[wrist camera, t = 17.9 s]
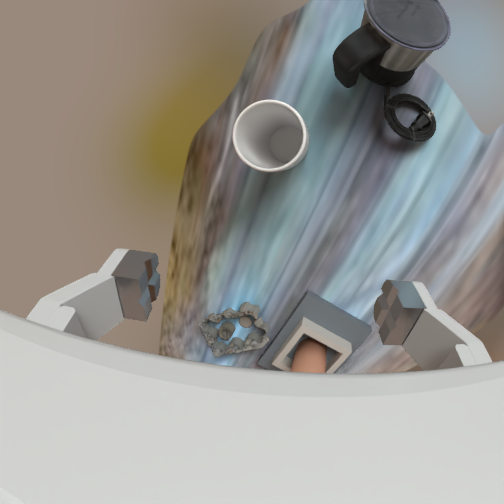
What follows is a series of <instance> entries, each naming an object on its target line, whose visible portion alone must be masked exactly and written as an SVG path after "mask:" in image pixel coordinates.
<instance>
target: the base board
mask: <svg viewBox="0 0 504 504" xmlns="http://www.w3.org/2000/svg"><path fill="white" fill-rule="evenodd" d="M371 332H372V329H371V326H370V325H368V324H366V323H364V322H363V321H361V320H359V319H357V318H356V317H354V316H352V315H350V314H349V313H347V312H345V311H344V310H342V309H340V308H338V307H337V306H335V305H333V304H331V303H330V302H328V301H326V300H324V299H323V298H321V297H319V296H318V295H316V294H314V293H312V292H311V291H309V290H307V292H306V293H305V295H304V296H303V298H302V299H301V301H300V302H299V304H298V305H297V307H296V308H295V309H294V311H293V312H292V314H291V315H290V317H289V318H288V319H287V321H286V322H285V324H284V325H283V327H282V328H281V329H280V331H279V332H278V334H277V335H276V336H275V338H274V339H273V341H272V342H271V343H270V345H269V346H268V347H267V349H266V350H265V351H264V353H263V354H262V356H261V357H260V358H259V360H258V363H257V364H258V365H260V366H262V367H264V368H266V369H268V370H274V371H288V372H290V371H291V368H292V364H293V360H294V356H295V352H296V348H297V345H298V343H299V342H300V341H302V340H303V339H306V338H314V339H316V340H317V341H319V342H321V343H323V344H325V345H326V347H327V358H326V368H325V373H336V372H337V371H338V369H339V368H340V367H341V366H342V365H343V364H344V363H345V362H346V361H347V360H348V359H349V357H350V356H351V355H352V354H353V353H354V352H355V351H356V349H357V348H358V347H359V346H360V345H361V344H362V343H363V341H364V340H365V339H366V338H367V337H368V335H369V334H370V333H371Z"/></svg>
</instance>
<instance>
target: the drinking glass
mask: <svg viewBox="0 0 504 504" xmlns="http://www.w3.org/2000/svg"><path fill="white" fill-rule="evenodd" d="M232 136H233V144H234V148H235V150H236V152H237V154H238V156H239V157H240V158H241V160H242V161H243V162H244V163H246V164H247V165H248V166H250V167H252V168H254V169H256V170H259V171H263V172H281V171H285V170H288V169H291V168H293V167H294V166H296V165H297V164H298V163H300V162H301V161H302V159H303V158H304V157H305V156H306V154H307V152H308V148H309V143H310V136H309V131H308V127H307V125H306V123H305V121H304V120H303V118H302V117H301V115H300V114H299V113H298V112H297V111H296V110H295V109H294V108H292V107H291V106H290V105H288V104H286V103H284V102H281V101H277V100H263V101H258V102H256V103H253V104H251V105H250V106H248V107H247V108H246V109H244V110H243V111H242V112H241V114H240V115H239V116H238V118H237V120H236V122H235V124H234V128H233V135H232Z"/></svg>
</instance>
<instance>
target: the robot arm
mask: <svg viewBox="0 0 504 504" xmlns="http://www.w3.org/2000/svg"><path fill="white" fill-rule="evenodd" d="M158 264H159V263H158V256H157V255H156V254H155V253H149V252H142V251H136V250H129V249H121V248H118V249H115V251H114V252H113V253H112V254H111V256H110V257H109V258H108V259H107V261H106V262H105V263H104V265H103V266H102V267H101V269H100V270H99V271H98V273H92V274H90V275H88V276H86V277H84V278H81V279H79V280H77V281H75V282H73V283H71V284H69V285H67V286H65V287H63V288H61V289H59V290H57V291H55V292H53V293H51V294H49V295H47V296H45V297H43V298H41V299H40V301H39V302H38V303H37V305H36V306H35V307H34V309H33V310H32V311H31V313H30V314H29V315H28V317H27V318H26V319H25V318H21V317H19V316H16V315H14V314H11V313H9V312H5V311H3V310H1V309H0V504H504V360H503V361H497V362H492V360H491V358H490V356H489V354H488V352H487V350H486V348H485V346H484V345H483V343H482V342H481V341H480V340H479V339H478V338H477V337H475V336H474V335H473V334H472V333H470V332H469V331H468V330H467V329H465V328H464V327H463V326H462V325H460V324H459V323H458V322H456V321H455V320H454V319H453V318H451V317H450V316H449V315H447V314H446V313H445V312H443V311H442V310H440V309H437V307H436V305H435V303H434V302H433V300H432V298H431V296H430V295H429V293H428V291H427V289H426V288H425V286H424V284H423V283H421V282H414V281H397V280H386V281H385V282H384V284H383V286H382V288H381V289H382V292H383V294H382V295H380V296H379V297H378V298H377V300H376V302H375V305H374V319H375V322H376V323H377V324H378V325H379V326H380V329H379V334H380V337H381V340H382V343H383V345H402V347H403V348H404V349H405V350H406V351H407V352H408V354H409V355H410V356H411V357H412V358H413V359H414V360H415V362H416V363H417V364H418V365H419V366H420V367H421V368H422V370H423V371H415V372H399V373H367V374H341V373H307V372H288V371H274V370H262V369H251V368H242V367H233V366H225V365H217V364H210V363H203V362H196V361H190V360H184V359H178V358H172V357H167V356H161V355H156V354H151V353H146V352H141V351H137V350H132V349H128V348H123V347H119V346H115V345H111V344H107V343H103V342H99V341H96V340H98V339H99V338H100V337H102V336H103V335H104V334H105V333H107V332H108V331H109V330H111V329H112V328H113V327H115V326H116V325H117V324H118V323H120V322H121V321H122V320H124V318H127V319H133V320H139V321H145V322H146V321H147V319H148V316H149V314H150V312H151V310H152V304H151V303H152V302H153V301H155V300H156V299H157V296H158V293H159V288H160V275H159V273H158V272H157V271H156V268H157V266H158Z"/></svg>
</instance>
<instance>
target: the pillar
mask: <svg viewBox="0 0 504 504" xmlns="http://www.w3.org/2000/svg"><path fill="white" fill-rule="evenodd" d="M326 358H327V347H326V345H325V344H323V343H321V342H319V341H317V340H316V339H314V338H306V339H303V340H302V341H300V342H299V343H298V345H297V348H296V352H295V356H294V360H293V364H292V368H291V371H290V372H307V373H325V368H326Z"/></svg>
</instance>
